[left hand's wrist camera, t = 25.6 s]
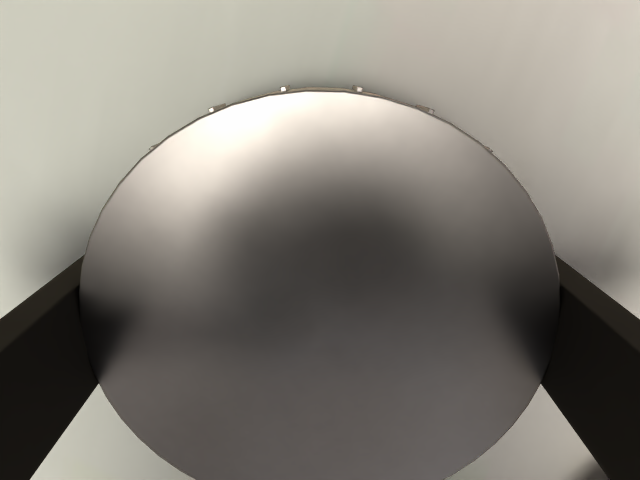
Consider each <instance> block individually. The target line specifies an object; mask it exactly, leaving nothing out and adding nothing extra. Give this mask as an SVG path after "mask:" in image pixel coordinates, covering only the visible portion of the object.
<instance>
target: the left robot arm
mask: <svg viewBox="0 0 640 480" xmlns="http://www.w3.org/2000/svg"><path fill="white" fill-rule="evenodd" d="M84 256H85V255H84ZM84 256H82V257H81V258H80V259H78V260H77V261H76V262H74V263H73V264H72V265H71V266H69V267H68V268H67V269H65V270H64V271H63V272H61V273H60V274H59V275H57V276H56V277H55V278H53V279H52V280H51V281H50V282H48V283H47V284H46V285H44V286H43V287H42V288H40V289H39V290H38V291H36V292H35V293H34V294H33V295H31V296H30V297H29V298H27V299H26V300H25V301H23V302H22V303H21V304H19V305H18V306H17V307H16V308H14V309H13V310H12V311H10V312H9V313H8V314H6V315H5V316H4V317H2V318H1V319H0V480H30V478H31V477H32V476H33V474H34V473H35V471H36V470H37V469H38V467H39V466H40V464H41V463H42V462H43V460H44V459H45V457H46V456H47V455H48V453H49V452H50V451H51V449H52V448H53V446H54V445H55V444H56V442H57V441H58V439H59V438H60V437H61V435H62V434H63V432H64V431H65V430H66V428H67V427H68V425H69V424H70V423H71V421H72V420H73V418H74V417H75V416H76V414H77V413H78V411H79V410H80V409H81V407H82V406H83V404H84V403H85V402H86V400H87V399H88V397H89V396H90V395H91V393H92V392H93V391H94V389H95V388H96V386H97V385H98V384H99V382H98V380H97V378H96V376H95V374H94V372H93V369H92V366H91V363H90V360H89V357H88V354H87V350H86V345H85V341H84V336H83V331H82V327H81V322H80V309H79V288H80V279H81V269H82V264H83V260H84ZM555 259H556V263H557V268H558V273H559V283H560V300H561V305H560V316H559V323H558V329H557V333H556V338H555V342H554V346H553V351H552V355H551V359H550V362H549V365H548V367H547V370H546V372H545V374H544V377H543V379H542V382H541V384H542V386H543V387H544V388H545V390H546V391H547V393H548V394H549V395H550V397H551V398H552V400H553V401H554V402H555V404H556V405H557V407H558V408H559V409H560V411H561V412H562V414H563V415H564V416H565V418H566V419H567V421H568V422H569V423H570V425H571V426H572V428H573V429H574V430H575V432H576V433H577V434H578V436H579V437H580V439H581V440H582V441H583V443H584V444H585V446H586V447H587V448H588V450H589V451H590V453H591V454H592V455H593V457H594V458H595V460H596V461H597V462H598V464H599V465H600V467H601V468H602V469H603V471H604V472H605V474H606V475H607V476H608V478H609V479H610V480H640V319H638V318H637V317H636V316H634V315H633V314H632V313H630V312H629V311H628V310H627V309H625V308H624V307H623V306H621V305H620V304H619V303H617V302H616V301H615V300H613V299H612V298H611V297H610V296H608V295H607V294H606V293H604V292H603V291H602V290H600V289H599V288H598V287H596V286H595V285H594V284H592V283H591V282H590V281H589V280H587V279H586V278H585V277H583V276H582V275H581V274H579V273H578V272H577V271H575V270H574V269H573V268H572V267H570V266H569V265H568V264H566V263H565V262H564V261H562V260H561V259H560V258H558V257H557V256H556V255H555Z"/></svg>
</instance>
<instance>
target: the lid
mask: <svg viewBox="0 0 640 480" xmlns="http://www.w3.org/2000/svg"><path fill="white" fill-rule="evenodd" d="M280 89H281V91H275V92H271V93H268V94H264V95H260V96H256V97H252V98H248V99H245V100H242V101H239V102H236V103H232V104H230V105H228V106H226V104H221V105H218V106H215V107H212V108H209V109H208V110H209V112H210V113H209V114H206V115H204V116H202V117H199V118H197V119H196V120H194V121H192V122H191V123H189V124H187V125H186V126H184V127H182V128H181V129H179V130H177V131H176V132H174V133H172V134H171V135H169V136H168V137H166V138H165V139H164V140H163V141H161V142H160V143H158V144H156V145H154V146H152V147H151V148H149V150H150V151H149V152H148V153H147V154H146V155H144V156H143V157H142V158H141V159H140V160H139V161H138V162H137V164H136V165H135V166H134V167H133V168H132V169H131V170H130V171H129V172H128V174H127V175H126V176H125V177H124V178H123V179H122V180H121V181H120V182H119V184H118V185H117V187H116V189H115V190H114V192H113V193H112V195H111V196H110V198H109V199H108V201H107V202H106V204H105V206H104V207H103V209H102V210H101V213H100V215H99V217H98V219H97V222H96V224H95V226H94V228H93V231H92V233H91V235H90V238H89V241H88V245H87V249H86V252H85V256H84V260H83V264H82V269H81V279H80V288H79V309H80V322H81V327H82V331H83V336H84V341H85V345H86V350H87V354H88V357H89V360H90V363H91V366H92V369H93V372H94V374H95V376H96V378H97V380H98V382H99V384H100V386H101V388H102V390H103V392H104V394H105V396H106V397H107V399H108V400H109V402H110V403H111V405H112V406H113V408H114V409H115V410H116V412H117V413H118V415H119V416H120V418H121V419H122V420H123V421H124V422H125V424H126V425H127V426H128V427H129V428H130V429H131V430H132V431H133V432H134V434H135V435H136V436H137V437H138V438H139V439H140V440H141V441H142V442H143V443H145V444H146V445H147V446H148V447H149V448H150V449H151V450H153V451H154V452H155V453H156V454H157V455H158V456H160V457H161V458H162V459H164V460H165V461H167V462H168V463H170V464H171V465H173V466H174V467H175V468H177V469H178V470H180V471H181V472H183V473H185V474H187V475H189V476H191V477H192V478H194V479H196V480H443V479H445V478H447V477H449V476H451V475H453V474H455V473H456V472H458V471H459V470H461V469H462V468H464V467H465V466H467V465H468V464H470V463H472V462H473V461H475V460H476V459H477V458H478V457H479V456H481V455H482V454H483V453H484V452H486V451H487V450H488V449H489V448H490V447H492V446H493V445H494V444H495V443H496V442H497V441H498V440H499V439H500V438H501V437H502V436H503V435H504V434H505V433H506V432H507V431H508V430H509V429H510V428H511V427H512V426H513V424H514V423H515V422H516V420H517V419H518V418H519V416H520V415H521V414H522V412H523V411H524V410H525V409H526V407H527V406H528V405H529V403H530V401H531V399H532V398H533V396H534V394H535V392H536V391H537V389H538V387H539V385H540V384H541V382H542V379H543V377H544V374H545V372H546V370H547V367H548V365H549V362H550V359H551V355H552V351H553V346H554V342H555V338H556V333H557V329H558V323H559V316H560V305H561V300H560V283H559V273H558V268H557V263H556V259H555V254H554V249H553V245H552V243H551V240H550V238H549V235H548V232H547V230H546V227H545V225H544V222H543V220H542V217H541V216H540V214H539V212H538V210H537V209H536V207H535V205H534V204H533V202H532V200H531V198H530V197H529V195H528V193H527V192H526V190H525V189H524V188H523V186H522V185H521V184H520V183H519V182H518V180H517V179H516V178H515V177H514V175H513V174H512V173H511V172H510V170H509V169H508V168H507V167H506V166H505V165H504V164H503V163H502V162H501V161H500V160H499V159H498V158H497V157H496V156H494V155H493V154H492V152H493V151H492V150H491V149H490V148H488V147H486V146H483V145H482V144H481V143H480V142H479V141H477V140H476V139H474V138H473V137H471V136H470V135H468V134H467V133H465V132H464V131H462V130H461V129H459V128H458V127H456V126H455V125H453V124H452V123H450V122H448V121H445V120H443V119H441V118H439V117H437V116H435V115H433V113H434V110H432V109H430V108H427V107H423V106H420V105H417V106H416V107H415V106H412V105H409V104H406V103H403V102H399V101H396V100H393V99H390V98H386V97H383V96H380V95H377V94H374V93H369V92H363V91H362V89H363V88H362V87H358V86H353V88H352V90H350V89H344V88H319V87H307V88H298V89H290V85H287V86H283V87H280Z"/></svg>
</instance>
